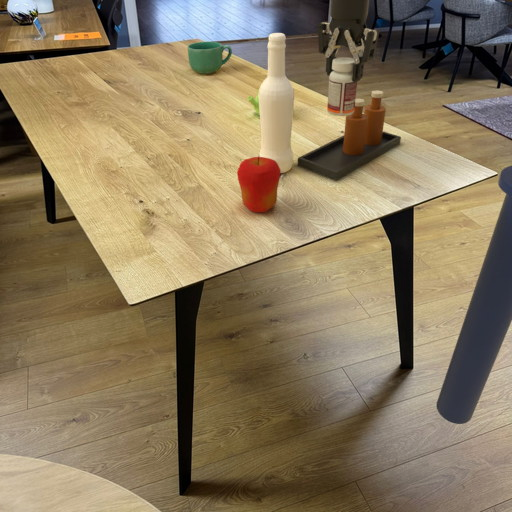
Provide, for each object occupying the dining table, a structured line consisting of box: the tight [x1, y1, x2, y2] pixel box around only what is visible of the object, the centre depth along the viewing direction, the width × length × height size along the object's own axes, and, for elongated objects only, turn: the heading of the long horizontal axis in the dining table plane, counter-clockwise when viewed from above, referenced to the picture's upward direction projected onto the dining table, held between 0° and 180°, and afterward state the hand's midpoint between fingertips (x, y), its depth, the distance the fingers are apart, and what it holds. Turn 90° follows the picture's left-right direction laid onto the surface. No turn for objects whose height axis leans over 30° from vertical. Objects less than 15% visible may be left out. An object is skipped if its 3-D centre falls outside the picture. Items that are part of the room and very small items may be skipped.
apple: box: [236, 155, 281, 213], centre depth 97 cm, size 9×8×12 cm
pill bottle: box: [326, 56, 358, 117], centre depth 105 cm, size 6×6×11 cm
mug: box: [187, 41, 233, 75], centre depth 180 cm, size 17×13×10 cm
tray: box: [297, 131, 402, 181], centre depth 120 cm, size 28×12×2 cm, turn 135°
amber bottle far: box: [363, 89, 387, 146], centre depth 121 cm, size 5×5×13 cm
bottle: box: [257, 32, 295, 175], centre depth 107 cm, size 8×8×30 cm
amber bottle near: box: [343, 98, 368, 155], centre depth 117 cm, size 5×5×13 cm
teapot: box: [247, 87, 260, 116], centre depth 142 cm, size 11×12×8 cm
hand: (343, 77), depth 104 cm, fingers closed on pill bottle, 6 cm apart
